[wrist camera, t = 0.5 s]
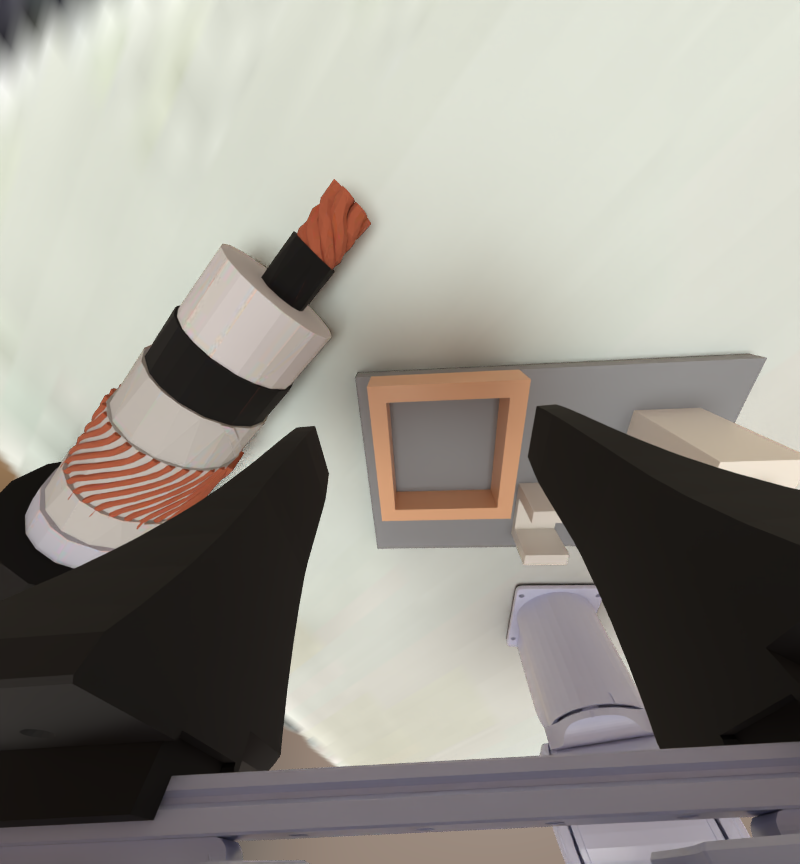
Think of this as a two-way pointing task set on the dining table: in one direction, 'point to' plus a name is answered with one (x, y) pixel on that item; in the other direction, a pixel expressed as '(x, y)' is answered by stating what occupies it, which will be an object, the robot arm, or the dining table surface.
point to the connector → (717, 443)
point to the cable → (180, 404)
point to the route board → (530, 430)
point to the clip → (537, 528)
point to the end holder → (450, 387)
